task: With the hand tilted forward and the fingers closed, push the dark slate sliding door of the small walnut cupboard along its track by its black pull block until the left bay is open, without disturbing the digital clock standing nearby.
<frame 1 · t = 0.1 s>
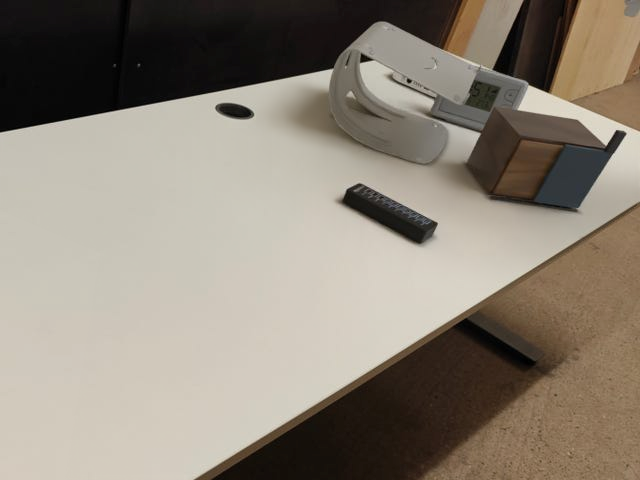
hand: (628, 10, 104), 30 cm above the table, tool pointing down, fingers open, 8 cm apart
cupboard: (517, 184, 123), on the table
multiport hub: (385, 219, 106), on the table
digital clock: (466, 124, 143), on the table
computer: (449, 89, 159), on the table
laptop stand: (386, 129, 134), on the table
sliding door: (577, 167, 113), point 8 cm above the table, slide at 0.0 cm
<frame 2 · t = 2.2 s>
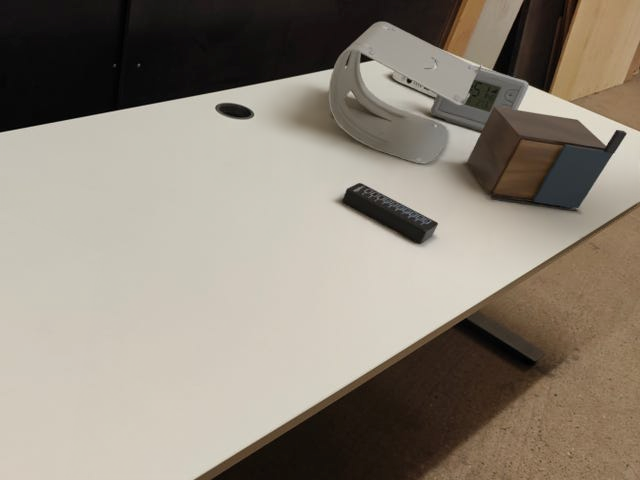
nothing on the table moved.
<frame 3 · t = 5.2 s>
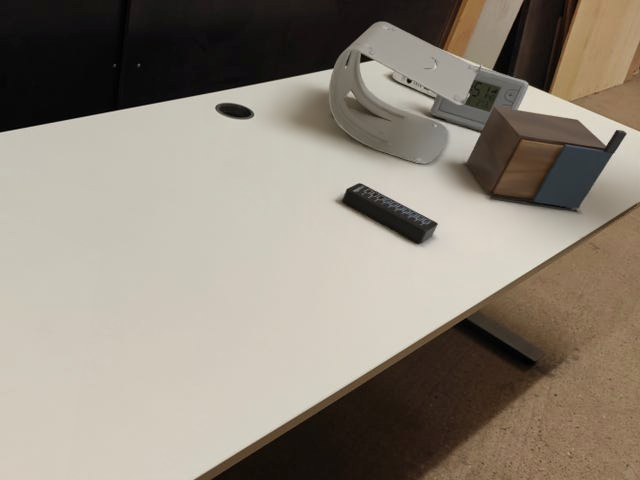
nothing on the table moved.
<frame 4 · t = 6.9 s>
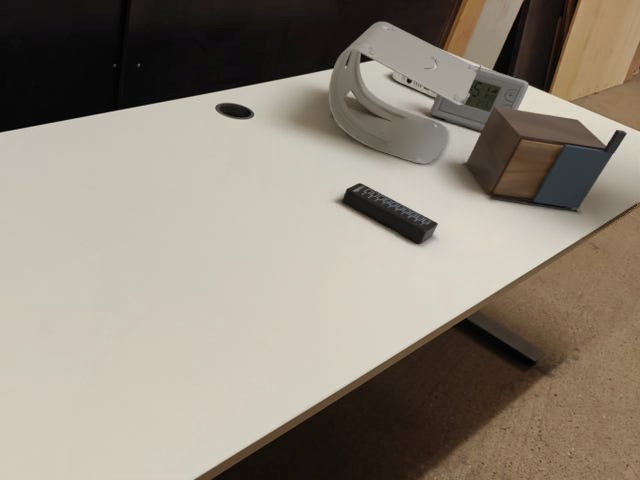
nothing on the table moved.
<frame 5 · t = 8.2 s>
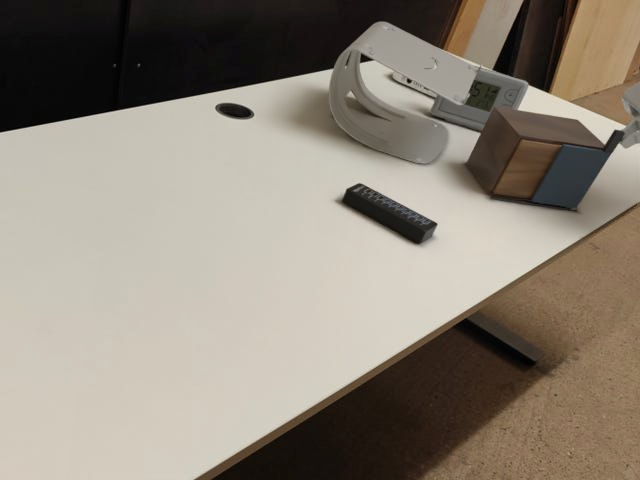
hand: (619, 141, 110), 13 cm above the table, tool tilted 45°, fingers closed
sliding door: (575, 167, 113), point 8 cm above the table, slide at 0.3 cm, touching gripper
everything else where it was.
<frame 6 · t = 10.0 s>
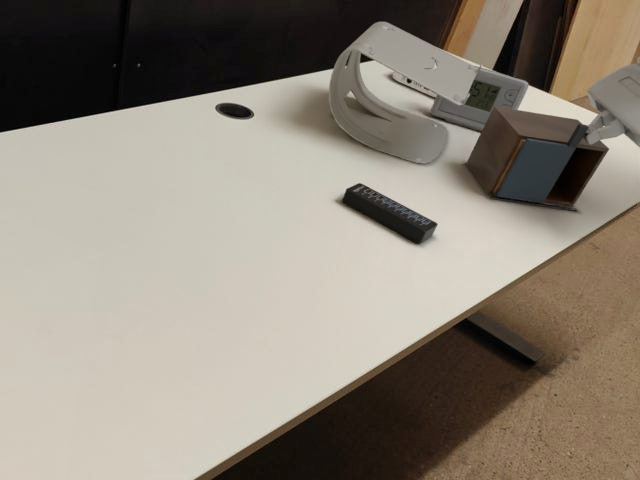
hand: (584, 137, 109), 13 cm above the table, tool tilted 45°, fingers closed, pressing on sliding door
sliding door: (540, 162, 112), point 8 cm above the table, slide at 6.6 cm, touching gripper
everything else where it was.
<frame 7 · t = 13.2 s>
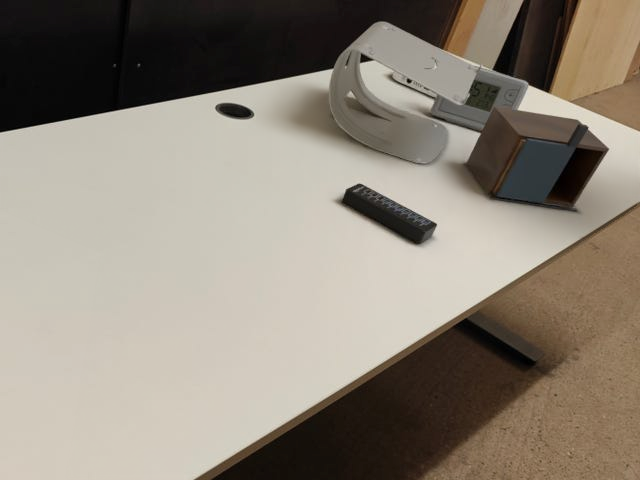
sliding door: (540, 162, 112), point 8 cm above the table, slide at 6.6 cm
everything else where it was.
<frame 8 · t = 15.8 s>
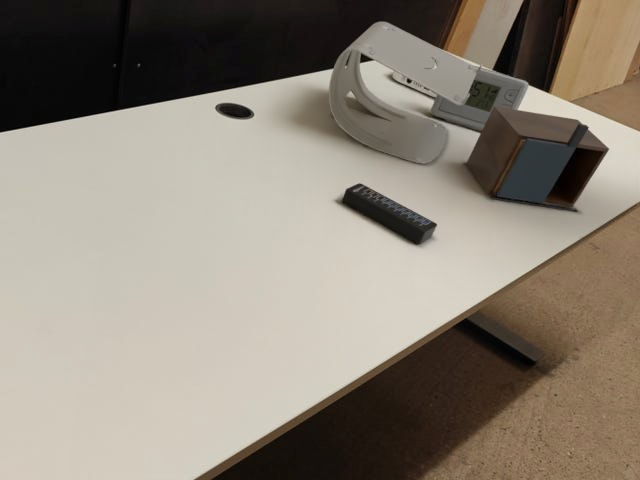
nothing on the table moved.
at the end: sliding door slide at 6.6 cm; digital clock moved 0.2 cm from its start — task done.
